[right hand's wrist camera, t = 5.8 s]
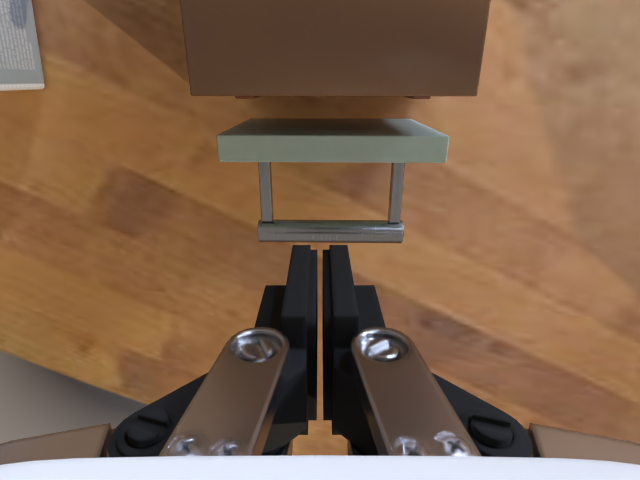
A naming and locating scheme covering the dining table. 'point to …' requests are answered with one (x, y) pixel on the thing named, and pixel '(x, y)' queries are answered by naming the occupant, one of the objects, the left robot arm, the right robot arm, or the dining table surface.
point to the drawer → (332, 146)
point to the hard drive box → (19, 47)
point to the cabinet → (334, 47)
